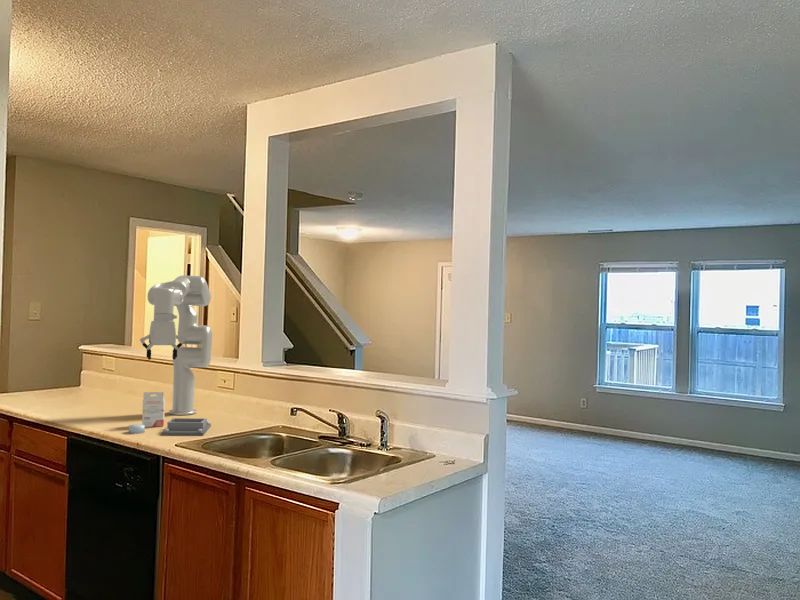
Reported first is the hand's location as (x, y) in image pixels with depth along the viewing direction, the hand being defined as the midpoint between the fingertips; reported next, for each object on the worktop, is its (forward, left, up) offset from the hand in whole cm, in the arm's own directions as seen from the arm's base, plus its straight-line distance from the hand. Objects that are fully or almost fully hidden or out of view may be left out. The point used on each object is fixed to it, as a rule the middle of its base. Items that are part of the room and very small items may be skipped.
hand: (161, 359), depth 261 cm
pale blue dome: (+3, -8, -30) cm, 31 cm away
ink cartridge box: (-11, -5, -30) cm, 32 cm away
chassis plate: (-1, +11, -29) cm, 31 cm away
